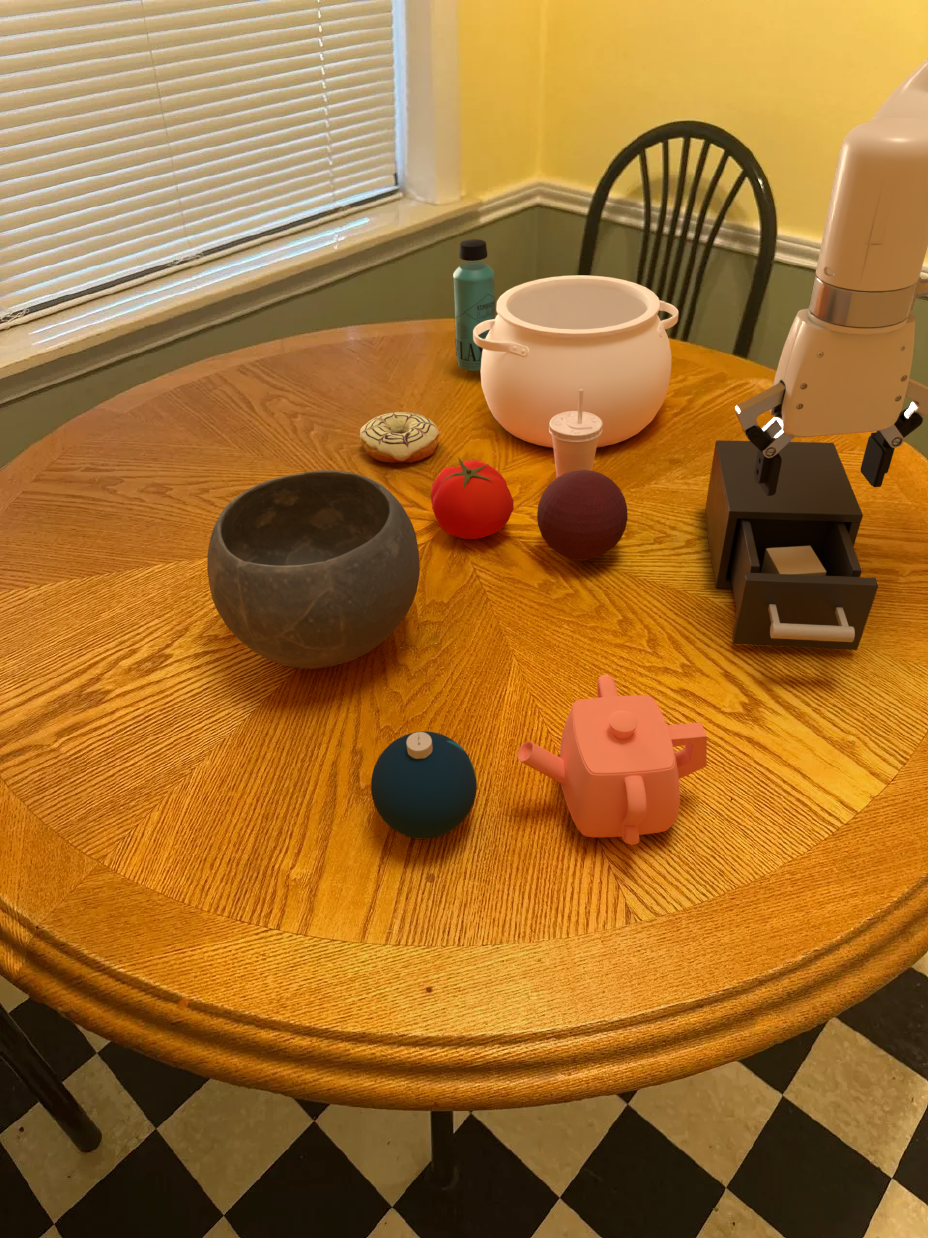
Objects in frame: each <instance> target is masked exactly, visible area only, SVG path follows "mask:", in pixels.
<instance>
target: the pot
mask: <svg viewBox="0 0 928 1238" xmlns="http://www.w3.org/2000/svg"><path fill="white" fill-rule="evenodd" d="M659 311H660V312H666V313H667V314H670V315H671V317H669V318H665V319H662V320H661V319H660V316H659ZM495 312H496V313H497V314H496V315H495V319H492V320H487V321H484V322H481V323H480V324H478V325H477V326H476V327H475V328H474V330H473V340H474V342H475V344H476V345H478V346H479V347H481V348H483V351H482V359H481V371H480V384H481V385H480V386H481V389H482V392H483V396H484V399H485V401H486V404H487V407H488V409H489V411H490V413H491V414H492V416H493V418H494V419H495V420H496V421H497V422H498V424H499V425H500V426H501V427H502V428H503V429H504V430H505V431H506V432H508V433H509V434H511V435H512V436H514V437H515V438H518V439H520V440H522V441H524V442H527V443H530V444H534V445H537V446H541V447H546V448H552V449H553V440H552V435H551V434H550V432H549V427H550V420H551V419H552V418H553V417H554V416H555V415H558V414H560V413H563V412H568V411H578V396H579V389H584V391H583V412H588V413H592V414H594V415H596V416H598V417H599V418H600V419H601V420H602V433H601V435H600V436H599V437H598V443H597V448H603V447H607V446H612V445H615V444H619V443H620V442H623V441H627V440H628V439H630V438H632V437H634V436H636V435H638V434H639V433H640V432H641V431H642V430H644V429H645V428H646V427H647V426H649V424H650V423H651V422H652V421H654V419H655V417H656V415H657V414H658V412H659V411H660V409H661V407H662V406H663V404H664V402H665V399H666V398H667V395H668V391H669V388H670V381H671V375H672V363H673V362H672V359H673V358H672V350H671V344H670V339H669V337H668V333H667V331H666V330H668V329H670V328H672V327H674V326H675V325H676V324H677V323H678V322H679V310H678V308H677V307H676V306H674V305H673V304H671V303H669V302H666V301H664V300H660V298H659V297H658V296H657V294H656V293H655V292H654V291H652V290H651V289H649V288H648V287H645V286H644V285H641V284H639V283H636V282H634V281H629V280H625V279H621V278H617V277H612V276H611V277H610V276H599V275H582V274H581V275H561V276H559V275H558V276H551V277H545V278H538V279H534V280H531V281H530V280H529V281H527V282H523V283H521V284H518V285H515V286H513V287H511V288H509V289H508V290H506V291H504V292H503V293H502V294H501V295H500V296H499V297H498V298H497V300H496V305H495ZM489 329H490V331H489V333H488V335H487V336H486V338H485V339H482V338H480V337H479V336H478V335H479V334H481V333H482V332H484V331H486V330H489Z"/></svg>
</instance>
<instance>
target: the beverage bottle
mask: <svg viewBox="0 0 928 1238" xmlns="http://www.w3.org/2000/svg"><path fill="white" fill-rule="evenodd" d="M458 253H459V254H458V256H459V259H461V260H462V261H467V262H464V263H462V264H460V265H459V266H458V267H457V268H455V270H454V271H453V273H452V279H453V294H454V295H453V296H454V297H453V298H454V333H455V334H454V335H455V338H454V340H455V359H456V360H455V361H456V363H457V365H458V368H460V369H461V370H464V371H467V372H481V359H482V351H483V348H481V347H479V346H478V345H476V344H475V342H474V340H473V330H474V328H475V327H476V326H477V325H478V324H480V323H481V322H484V321H487V320H492V319H495V318H496V302H497V300H496V297H495V271H494V269H493V268H492V267H491V266H489V264H487V263H486V262H482V260H485V259H486V258H488V248H487V242H486V241H485V240H484V239H478V238H477V239H476V238H472V239H471V238H470V239H466V240H462V241H461V242H460V243H459V252H458ZM489 331H490V329H489V330H486V331H484V332H482V333H481V334H479V335H478V336H479V337H480V338H482V339H485V338H486V336H487V335H488V333H489Z"/></svg>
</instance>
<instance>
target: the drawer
mask: <svg viewBox="0 0 928 1238" xmlns="http://www.w3.org/2000/svg"><path fill="white" fill-rule="evenodd" d="M796 546H811V548H812V549H813V551H814V553H815V554H816V556H817V557H818V559H819V561H820V562H821V564H822V566H823V567H824V569H825V570H826V576H818V575H793V574H768V573H761V569H762V565H763V560H764V556H765V551H766V548H781V547H796ZM854 547H855V546H854ZM854 547H853V545H852V542H851V539H850V536H849V534H848V531H847V528H846V526H845V523H844V522H831V521H800V520H769V519H738V518H737V523H736V528H735V533H734V539H733V544H732V549H731V555H730V560H729V570H730V575H731V581H732V587H733V589H732V591H733V598H734V604H735V609H736V614H735V619H734V625H733V629H732V633H731V638H732V644H733V645H742V646H743V645H744V646H761V647H762V646H763V647H783V648H784V647H785V648H801V649H802V648H804V649H819V650H820V649H824V650H839V651H840V650H842V651H858V649H859V646H860V643H861V640H862V636H863V634H864V631H865V627H866V624H867V623H868V618H869V616H870V612H871V610H872V607H873V604H874V601H875V598H876V594H877V592H878V588H879V583H878V580H877V578H876V577H867V576H865V577H863V576H861V575H862V572H863V568H862V566H861V563H860V560H859V559H858V555H857V553H856V550H855V548H854Z"/></svg>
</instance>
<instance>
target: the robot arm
mask: <svg viewBox="0 0 928 1238" xmlns="http://www.w3.org/2000/svg"><path fill="white" fill-rule="evenodd" d="M836 160H837V161H836V166H835V172H834V176H833V182H832V186H831V193H830V197H829V203H828V207H827V212H826V218H825V224H824V229H823V233H822V239H821V243H820V248H819V254H818V258H817V264H816V267H815V268H816V269H815V273H814V279H813V283H812V289H811V294H810V299H809V304H808V308H803V309H799V310H798V311H797V313H796V315H795V317H794V319H793V322H792V323H791V326H790V329H789V331H788V335H787V338H786V339H785V342H784V345H783V348H782V351H781V355H780V358H779V361H778V365H777V367H776V368H777V369H776V372H775V375H774V379H773V383H772V386H771V387H769V388H766V389H765V390H763V391H760V392H759V393H757V394H755V395H754V396H751V397H750V398H748V399H745V400H743V401H742V402H740V403H738V404H736V406H735V407H734V413H735V415H736V418H737V420H738V422H739V424H740V426H741V429H742V432H743V433H744V435H745V436H746V438H747V440H748V441H751V442H752V443H753V444H754V445H755V446H756V447H757V448H758V454H757V460H756V465H755V471H754V478H755V481H756V482H757V484H760V485H761V487H762V489H763V491H764V492H765V494H766V496H773V495H774V494H775V493H776V488H777V483H778V478H779V473H780V468H781V463H782V458H781V456H780V455H779V453H778V452H780V451H781V450H782V449H783V448H784V447H785V446H786V445H787V444H788V443H789V442H792V441H793V440H794V438H812V437H824V436H838V435H849V434H851V435H852V434H861V433H870V435H869V436H868V439H867V442H866V446H865V450H864V452H863V453H864V454H863V458H862V461H861V465H860V469H859V470H860V471H859V472H860V473H861V474H862V476H863V477H864V478H865V480H866V481H867V482H868V483H869V485H870V486H871V487H872V488H880V487H882V485H883V481H884V478H885V475H886V474H888V472H889V470H890V468H891V467H890V466H891V462H892V460H893V456H894V453H895V449H896V448H899V447H901V446H902V445H903V444H904V442H905V438H906V437H907V436H908V435H910V434H911V433H912V432H914V431H915V430H916V429H918V428H919V427H920V426H921V425H922V424H923V422H924V418H925V417H927V416H928V386H927V385H925V384H923V383H921V382H918V381H916V380H914V379H912V378H911V377H910V376H911V370H912V365H913V357H914V347H915V335H916V333H915V331H916V318H915V317H916V316H915V314H914V313H913V312H912V311H913V309H914V306H915V301H916V300H917V299H919V298H922V297H928V278H922V277H921V276H920V275H921V274H922V273H921V272H922V269H923V265H924V263H925V259H926V254H927V252H928V57H927V58H926V59H925V60H924V61H923V62H922V63H920V65H919V66H918V67H916V69H915V70H913V72H912V73H910V74H909V75H908V76H907V77H906V78H905V79H904V80H903V81H902V82H901V83H900V84H899V85H898V86H897V87H896V88H895V89H894V90H893V91H892V92H891V93H890V95H889V96H887V98H886V99H885V101H883V103H882V104H881V105H880V106H879V107H878V108H877V110H876V111H875V113H874V114H873V116H872V117H871V119H870V120H868V121H866V122H862V123H859V124H857V125H856V126H854V127H853V128H851V129H850V130H849V131H848V133H847V134H846V135H845V136H844V138H843V140H842V143H841V145H840V148H839V152H838V156H837V159H836ZM906 398H908V399H910V400H912V401H911V403H910V404H909V407H906V408H904V409H903V406H904V402H905V399H906ZM767 411H769V413H770V415H771V416H774V417H772V419H770V420H769V421H768V422H767V423H766V425H764V426H763V427H761V426H760V425H758V421H757V419H758V417H759V416H760V415H762V414H764V413H766V412H767Z"/></svg>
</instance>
